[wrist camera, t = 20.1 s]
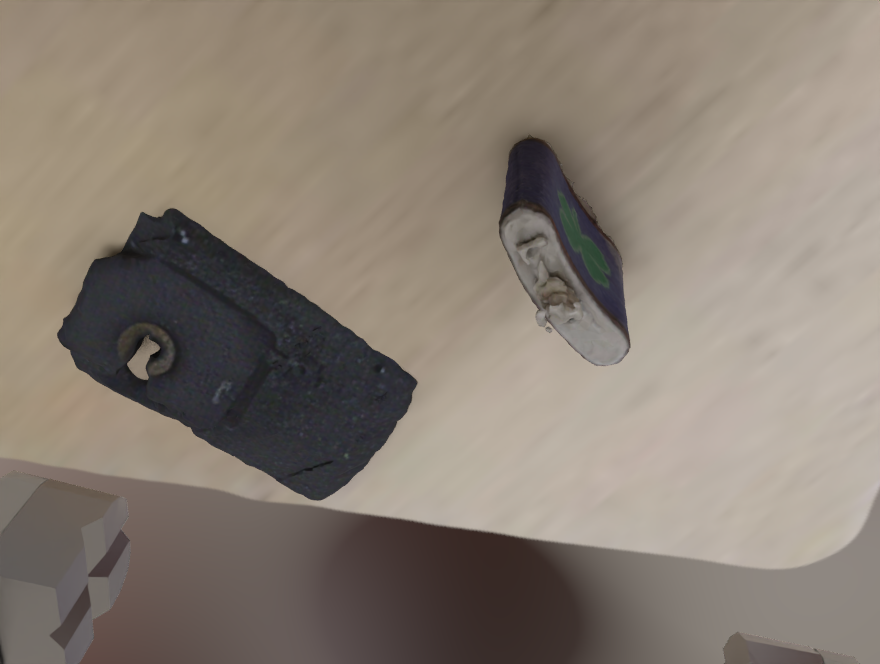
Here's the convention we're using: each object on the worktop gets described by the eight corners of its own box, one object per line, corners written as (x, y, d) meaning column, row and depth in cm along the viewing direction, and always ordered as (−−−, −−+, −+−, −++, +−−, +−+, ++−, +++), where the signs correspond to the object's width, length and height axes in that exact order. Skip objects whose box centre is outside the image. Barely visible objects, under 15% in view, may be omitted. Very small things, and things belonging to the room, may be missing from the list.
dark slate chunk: (319, 504, 63) (302, 551, 59) (57, 341, 58) (19, 380, 54) (438, 380, 56) (427, 424, 52) (148, 181, 51) (111, 213, 47)
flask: (630, 265, 49) (643, 379, 39) (583, 290, 50) (583, 405, 40) (541, 124, 45) (530, 211, 35) (492, 154, 46) (468, 246, 37)
